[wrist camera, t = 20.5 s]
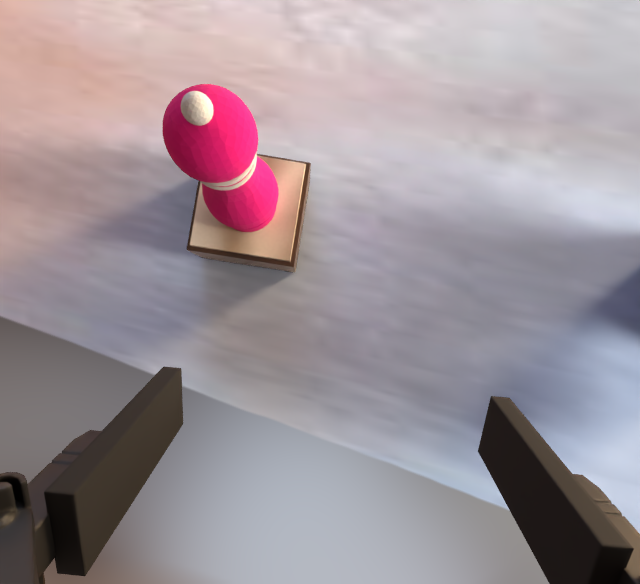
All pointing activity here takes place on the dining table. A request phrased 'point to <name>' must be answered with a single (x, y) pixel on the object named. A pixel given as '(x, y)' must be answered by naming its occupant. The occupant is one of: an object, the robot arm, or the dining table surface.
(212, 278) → the dining table surface
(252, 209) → the pepper mill
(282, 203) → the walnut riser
